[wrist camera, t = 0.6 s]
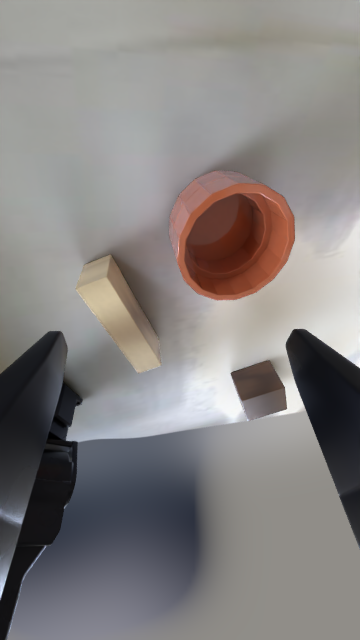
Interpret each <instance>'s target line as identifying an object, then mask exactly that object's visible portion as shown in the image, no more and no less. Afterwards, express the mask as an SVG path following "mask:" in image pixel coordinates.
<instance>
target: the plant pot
mask: <svg viewBox="0 0 360 640" xmlns="http://www.w3.org/2000/svg"><path fill="white" fill-rule="evenodd" d="M169 237H170V241H171V244H172V247H173V250H174V253H175V257H176V260H177V263H178V265H179V268H180V271H181V273H182V276H183V279H184V281H185V282H186V283H187V284H188V285H189V286H190V287H191V288H192V289H193V290H194V291H196V292H197V293H198V294H199V295H202V296H205V297H208V298H211V299H214V300H237V299H239V298H242V297H245V296H248V295H250V294H253V293H255V292H257V291H258V290H260V289H261V288H263V287H264V286H265V285H267V284H268V283H269V282H271V281H272V280H273V279H274V278H275V277H276V275H277V274H278V273H279V271H280V270H281V269H282V267H283V266H284V265H285V264H286V262H287V260H288V258H289V255H290V252H291V249H292V246H293V244H294V241H295V240H294V239H295V225H294V215H293V213H292V211H291V209H290V208H289V206H288V204H287V202H286V200H285V198H284V197H283V196H282V195H280V194H279V193H277V192H275V191H274V190H272V189H271V188H269V187H267V186H266V185H264V184H262V183H260V182H258V181H256V180H253V179H251V178H249V177H247V176H245V175H243V174H241V173H238V172H235V171H213V172H210V173H208V174H205V175H203V176H201V177H198V178H196V179H195V180H193V181H192V182H191V183H190V184H189V185H188V186H187V187H186V188H185V189H184V190H183V191H182V192H181V193H180V194H179V196H178V198H177V200H176V203H175V205H174V207H173V209H172V212H171V214H170V222H169Z"/></svg>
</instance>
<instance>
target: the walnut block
mask: <svg viewBox="0 0 360 640" xmlns="http://www.w3.org/2000/svg"><path fill="white" fill-rule="evenodd" d="M231 376H232V379H233V382H234V385H235V388H236V391H237V394H238V397H239V399H240V402H241V404H242V407H243V410H244V412H245V415H246V418H247V420H248V421H250V420H253V419H257V418H260V417H263V416H266V415H269V414H273V413H276V412H279V411H282V410H286V409H287V405H286V395H285V387H284V385H283V383H282V381H281V380H280V378H279V376H278V375H277V373H276V371H275V369H274V368H273V366H272V364H271V362H270V361H269V360H268V361H265V362H262V363H259V364H256V365H253V366H250V367H247V368H244V369H241V370H238V371H235V372H232V373H231Z"/></svg>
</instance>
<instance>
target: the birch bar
mask: <svg viewBox="0 0 360 640" xmlns="http://www.w3.org/2000/svg"><path fill="white" fill-rule="evenodd" d="M76 290H77V292H78V293H79V294H80V296H81V297H82V298H83V300H84V301H85V302H86V304H87V305H88V306H89V308H90V309H91V311H92V312H93V313H94V315H95V316H96V317H97V319H98V320H99V321H100V323H101V324H102V325H103V327H104V328H105V329H106V331H107V332H108V333H109V335H110V336H111V337H112V339H113V340H114V341H115V343H116V344H117V345H118V347H119V348H120V349H121V351H122V352H123V353H124V355H125V356H126V357H127V359H128V360H129V362H130V363H131V364H132V366H133V367H134V368H135V370H136V371H137V372H138V373H142V372H144V371H147V370H150V369H153V368H156V367H159V366H162V363H161V354H160V346H159V339H158V337H157V335H156V333H155V332H154V330H153V328H152V326H151V324H150V323H149V321H148V319H147V317H146V316H145V314H144V312H143V310H142V309H141V307H140V305H139V303H138V302H137V300H136V298H135V296H134V294H133V293H132V291H131V289H130V287H129V286H128V284H127V282H126V280H125V279H124V277H123V275H122V273H121V272H120V270H119V268H118V266H117V264H116V263H115V261H114V259H113V257H112V256H111V255H108V256H105V257H103V258H100V259H98V260H95V261H93V262H90V263H88V264H85V265H84V266H83V269H82V272H81V275H80V277H79V280H78V283H77V286H76Z"/></svg>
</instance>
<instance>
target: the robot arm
mask: <svg viewBox="0 0 360 640" xmlns="http://www.w3.org/2000/svg"><path fill="white" fill-rule="evenodd" d="M286 350H287V354H288V358H289V361H290V365H291V369H292V373H293V376H294V380H295V383H296V385H297V388H298V391H299V393H300V396H301V398H302V401H303V403H304V406H305V409H306V411H307V414H308V416H309V419H310V422H311V424H312V427H313V429H314V432H315V434H316V437H317V440H318V442H319V445H320V447H321V450H322V453H323V455H324V458H325V460H326V463H327V465H328V468H329V471H330V473H331V476H332V478H333V481H334V483H335V486H336V489H337V491H338V494H339V497H340V499H341V502H342V505H343V507H344V510H345V512H346V515H347V517H348V520H349V523H350V525H351V528H352V530H353V533H354V535H355V538H356V540H357V543H358V545H359V548H360V368H359V367H357V366H356V365H355V364H353V363H352V362H350V361H349V360H348V359H346V358H345V357H343V356H342V355H341V354H339V353H338V352H336V351H335V350H334V349H332V348H331V347H329V346H328V345H327V344H325V343H324V342H322V341H321V340H319V339H318V338H317V337H315V336H314V335H312V334H311V333H310V332H308V331H307V330H305V329H294V330H293V331H292V333H291V334H290V336H289V338H288V340H287V342H286ZM67 351H68V348H67V344H66V341H65V338H64V335H63V333H62V332H61V331H49V332H48V333H46V334H45V335H44V336H43V337H42V338H41V339H40V340H39V341H37V342H36V343H35V344H34V345H33V346H32V347H31V348H29V349H28V350H27V351H26V352H25V353H24V354H23V355H22V356H20V357H19V358H18V359H17V360H16V361H15V362H14V363H12V364H11V365H10V366H9V367H8V368H7V369H6V370H5V371H3V372H2V373H1V374H0V640H7V638H8V634H9V631H10V627H11V623H12V620H13V616H14V612H15V608H16V605H17V601H18V597H19V594H20V590H21V587H22V583H23V580H24V577H25V575H26V574H27V572H28V571H29V570H30V568H31V567H32V565H33V564H34V562H35V561H36V560H37V558H38V557H39V556H40V554H41V553H42V551H43V550H44V549H45V547H46V546H49V545H51V544H52V543H53V541H54V539H55V538H56V536H57V534H58V533H59V531H60V528H61V523H62V517H63V512H64V508H65V507H66V506H67V504H68V503H69V501H70V498H71V496H72V493H73V490H74V486H75V482H76V474H77V443H78V442H76V441H72V442H71V441H66V436H67V432H68V427H70V426H71V424H72V420H73V415H74V410H75V407H76V406H79V405H81V404H82V399H81V398H80V397H79V396H78V395H77V394H75V393H74V392H73V391H72V390H71V389H70V388H69V387H68V386H66V385H65V384H64V383H63V376H64V370H65V364H66V358H67Z"/></svg>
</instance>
